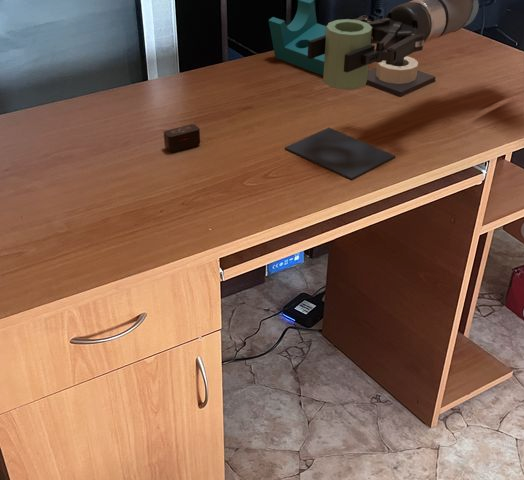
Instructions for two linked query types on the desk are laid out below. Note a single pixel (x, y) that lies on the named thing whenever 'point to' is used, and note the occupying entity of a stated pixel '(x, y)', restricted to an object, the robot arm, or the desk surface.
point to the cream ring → (397, 71)
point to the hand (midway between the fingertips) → (327, 56)
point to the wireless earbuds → (182, 138)
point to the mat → (340, 153)
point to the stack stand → (399, 89)
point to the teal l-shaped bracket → (298, 37)
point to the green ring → (340, 43)
